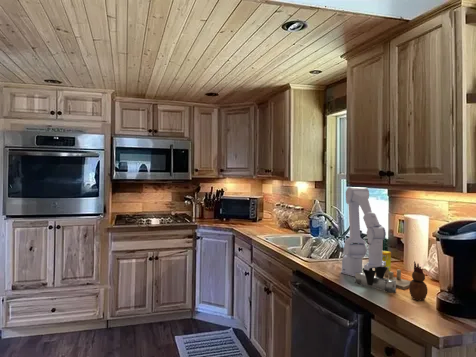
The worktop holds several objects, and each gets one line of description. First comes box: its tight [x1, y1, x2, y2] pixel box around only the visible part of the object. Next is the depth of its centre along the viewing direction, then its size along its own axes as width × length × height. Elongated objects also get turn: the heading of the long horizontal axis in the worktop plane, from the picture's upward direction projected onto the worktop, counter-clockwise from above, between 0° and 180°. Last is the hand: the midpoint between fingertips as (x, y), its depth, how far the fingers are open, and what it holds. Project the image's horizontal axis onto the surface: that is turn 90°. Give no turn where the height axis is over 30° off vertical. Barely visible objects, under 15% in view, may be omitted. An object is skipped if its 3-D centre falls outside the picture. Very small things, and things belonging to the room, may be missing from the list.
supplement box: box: [382, 249, 392, 272], centre depth 182 cm, size 6×6×11 cm
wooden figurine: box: [408, 261, 428, 302], centre depth 142 cm, size 7×6×15 cm
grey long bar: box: [354, 271, 397, 294], centre depth 157 cm, size 19×5×4 cm, turn 38°
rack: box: [375, 267, 412, 290], centre depth 165 cm, size 20×11×6 cm, turn 38°
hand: (374, 283), depth 157 cm, fingers open, 7 cm apart
